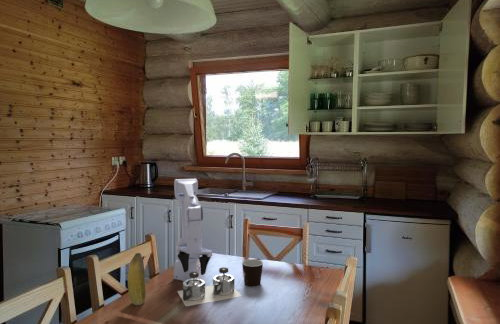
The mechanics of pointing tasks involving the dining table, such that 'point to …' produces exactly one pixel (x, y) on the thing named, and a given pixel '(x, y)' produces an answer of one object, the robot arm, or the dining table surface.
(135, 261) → the vegetable
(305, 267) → the dining table surface
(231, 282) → the far pot
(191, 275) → the near plunger
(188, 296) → the near pot
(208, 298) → the serving board
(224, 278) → the cylinder
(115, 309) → the dining table surface
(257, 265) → the coffee mug
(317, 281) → the dining table surface
